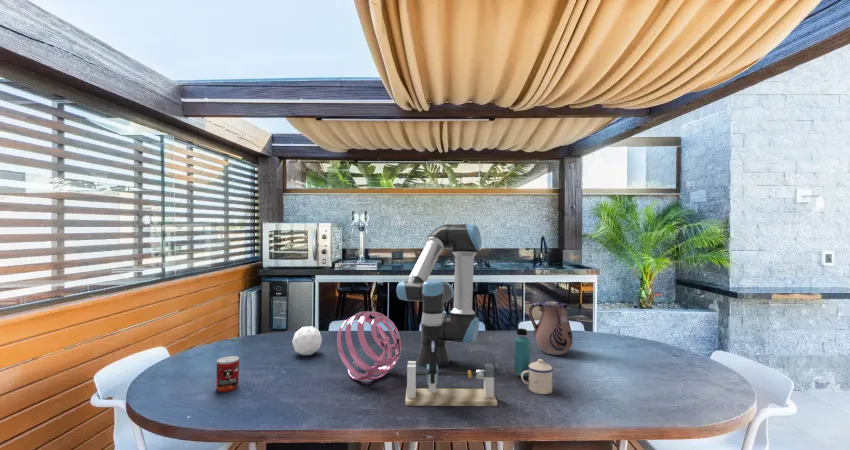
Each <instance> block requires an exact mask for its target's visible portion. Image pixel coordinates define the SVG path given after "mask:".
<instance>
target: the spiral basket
mask: <svg viewBox="0 0 850 450" xmlns="http://www.w3.org/2000/svg"><path fill="white" fill-rule="evenodd" d="M370 316H371V317H374V318H373V319H372V318H370ZM355 320H358V322H357V326H356V329H357V337H358V338H357V339H358V340H359V344H360V345H361V348H362V349H363V352H364V353H365V354H366V355H367V356H368V357H369V358H370V360H373V361H374V362H375V364H374V365H373V366H370V365H368V364H367V363H366V362H365V361H364V360H363V359H362V358H361V357H360V355H359V354H358V352H357V351H356V349H355V346H354V344H353V340H352V339H353V338H352V325H353V323H354V321H355ZM365 322H366V323H368V324H369V325H370V331H371V332H370V333H371V336H372V338H373V340H374V342H375V344H376V345H378V346H379V347H380V348H381V349H382V353H381V354H380V355H379V354H377V353H376V352H375V351H374V350H373V349H372V348H371V346H370V345H369V343H368V341H367V338H366V335H365V329H364V328H365ZM380 322H381V323H382V324H383V325H384V326H385V327H386V329H387V330H388V332H389V334H390V336H391V338H392V341H393V343H392V344H391V342H390V337H388V335H387V334H386V332H385V330H384V329H383V328H382V326H381V325H380V324H379V323H380ZM346 323H347V324H346ZM345 325H346V327H345ZM391 326H392V327H391ZM344 327H345V333H344V335H345V336H344V337H345V344H346V346H347V350H348V351H349V354H350V356H351V358H352V359H353V361H354V362H352V364H353V365H354V366H355V367H358V368H360V369H362V370H364V371H365V372H366V373H365V374H363V373H360V372H359V371H358V370H356V368H354V366H352V365H351V363H350V361H349V360H348V359H347V357H346V355H345V353H344V350H343V346H342V345H343V344H342V333H343V328H344ZM393 329H394V330H393ZM401 340H402V339H401V335H400V333H399V330H398V328H397V326H396V325H395V323H394V322H393V321H392V320H391V319H390V318H389V317H387V316H386V315H384V314H383V313H381V312H378V311H360V312H357V313H355V314H354V315H352V316H349V317H347V319H345V320H344V321H343V322H342V323H341V324H340V327H339V329H338V331H337V337H336V344H337V345H336V347H337V350H338V354H339V356H340V357H339V358H340V360H341V361H342V363H343V365H344V366H345V367H346V370H347V373H348V375H349V377H350V378H351V379H353V380H354V381H371V382H373V381H377V380H379V379H381V378H383V377H384V376H385V375H386V374H388V373H389V372H390V371H392V370H393V368H395V366H396V364H397V362H398V360H399V358H400V355H401V353H402V352H401V351H402V341H401ZM394 351H395V355H394V356H393V352H394ZM386 354H387V357H386ZM374 376H375V377H374Z"/></svg>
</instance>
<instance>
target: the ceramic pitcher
mask: <svg viewBox="0 0 850 450" xmlns="http://www.w3.org/2000/svg"><path fill="white" fill-rule="evenodd" d="M537 307H538V308H539V309H540V311H541V315H540V318H539V321H538V323H536V321H535V320H534V317H533V312H532V311H533V309H534V308H537ZM568 316H569V315H568V304H567V303H565V302H564V303H563V302H562V303H559V302H558V301H542V302H535V303H532V304H530V306H529V308H528V317H529V319H530V321H531V324H532V326H533V334H534V337H535V340H536V343H537V346H538V347H539V349H540V350H541V351H542V352H544V353H546V354H548V355H552V356H561V355H565V354H566V353H568V351H569V350H570V349H571V347H572V345H573V334H572V328H571V324H570V320H569V317H568Z"/></svg>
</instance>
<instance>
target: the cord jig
mask: <svg viewBox="0 0 850 450" xmlns="http://www.w3.org/2000/svg"><path fill="white" fill-rule="evenodd" d="M406 370H407V371H406V391H405V400H404V405H405V406H409V407H410V406H414V407H415V406H421V407H422V406H425V407H426V406H427V407H428V406H430V407H431V406H432V407H433V406H436V407H437V406H440V407H445V406H446V407H450V406H451V407H452V406H453V407H498V400H497V399H496V398H497V397H496V395H495V367H494V365H493V364H492V363H483V369H476V370H475V371H472V370H470V369H469V370H467V371H438V377H439V376H443V377H444V376H446V377H448V376H451V377H452V376H453V377H454V376H455V377H458V376H460V377H463V376H464V377H466V376H467V377H468V378H469V379H470V378H472V377H475V379H480V380H481V379H482V380H483V388H436V392H429V387H427V388H417V376H427V371H417V361H416V360H407V367H406Z"/></svg>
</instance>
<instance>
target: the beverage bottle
mask: <svg viewBox="0 0 850 450" xmlns="http://www.w3.org/2000/svg"><path fill="white" fill-rule="evenodd" d="M516 335H517V336H516V337H515V338H514V356H513V358H514V367H513V369H514V374H515V375H517V376H520V377H521V373H522V372H523V371H529V368H528V366H529V364H530V363H531V355H530V354H531V350H530V348H531V347H530V344H531V343H530V339H529V338H528V337H527V335H528V331H527V329H525V328H517V329H516ZM527 376H528V377H529V373H525V374H524V375H523V377H527Z"/></svg>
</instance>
